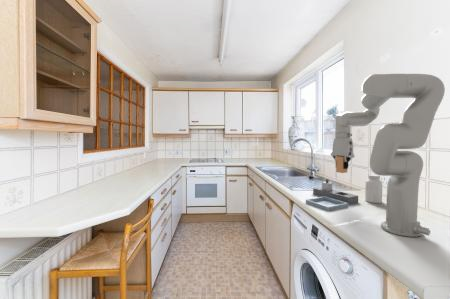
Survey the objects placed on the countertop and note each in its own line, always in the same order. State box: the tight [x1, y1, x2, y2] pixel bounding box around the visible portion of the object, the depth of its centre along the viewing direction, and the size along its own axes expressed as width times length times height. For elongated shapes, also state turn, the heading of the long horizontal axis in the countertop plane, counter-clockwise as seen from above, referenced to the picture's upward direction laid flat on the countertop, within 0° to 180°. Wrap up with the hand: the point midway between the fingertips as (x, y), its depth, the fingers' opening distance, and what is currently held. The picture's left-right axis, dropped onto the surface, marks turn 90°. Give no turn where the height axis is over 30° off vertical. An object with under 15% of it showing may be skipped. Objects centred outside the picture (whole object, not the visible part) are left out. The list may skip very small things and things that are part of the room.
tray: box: [305, 196, 349, 212], centre depth 117 cm, size 15×15×3 cm
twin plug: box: [321, 178, 333, 191], centre depth 134 cm, size 4×4×11 cm
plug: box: [335, 156, 348, 174], centre depth 123 cm, size 4×4×11 cm
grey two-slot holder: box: [312, 186, 359, 205], centre depth 129 cm, size 24×8×4 cm, turn 25°
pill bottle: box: [364, 174, 383, 204], centre depth 124 cm, size 8×8×15 cm
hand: (341, 167), depth 123 cm, fingers closed on plug, 4 cm apart
